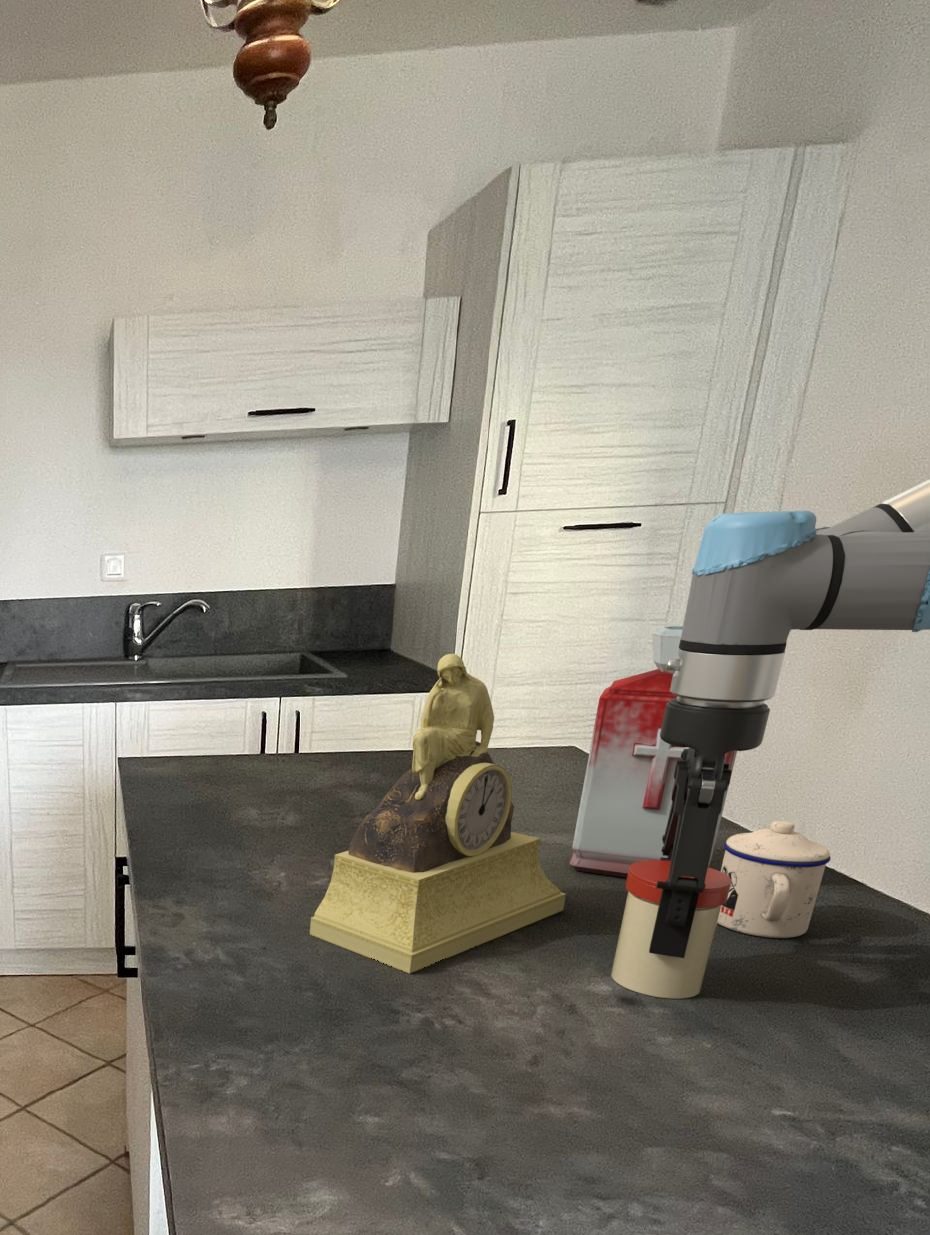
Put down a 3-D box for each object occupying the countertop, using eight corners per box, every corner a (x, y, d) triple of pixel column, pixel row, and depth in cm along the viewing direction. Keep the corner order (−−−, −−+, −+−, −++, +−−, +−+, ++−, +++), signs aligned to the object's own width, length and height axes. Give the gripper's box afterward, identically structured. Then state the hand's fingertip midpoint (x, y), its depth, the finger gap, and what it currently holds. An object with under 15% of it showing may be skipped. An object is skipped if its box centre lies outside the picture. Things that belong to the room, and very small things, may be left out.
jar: (700, 975, 96) (724, 874, 93) (700, 1005, 91) (726, 899, 87) (613, 960, 100) (633, 862, 97) (608, 988, 95) (629, 886, 91)
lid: (612, 876, 97) (616, 858, 96) (704, 879, 95) (708, 861, 94) (643, 906, 90) (647, 886, 89) (743, 910, 88) (748, 890, 87)
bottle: (566, 873, 124) (610, 631, 113) (576, 851, 132) (618, 622, 121) (704, 893, 116) (765, 634, 106) (705, 868, 124) (763, 624, 113)
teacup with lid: (702, 904, 113) (725, 807, 109) (801, 915, 109) (828, 815, 105) (714, 942, 103) (740, 837, 99) (822, 956, 99) (854, 848, 95)
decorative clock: (409, 973, 99) (446, 674, 89) (309, 934, 109) (331, 662, 99) (563, 910, 113) (611, 645, 102) (461, 880, 123) (495, 636, 113)
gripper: (663, 680, 96) (619, 896, 104) (671, 718, 79) (618, 971, 87) (758, 683, 92) (705, 907, 100) (787, 724, 76) (720, 988, 84)
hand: (664, 937), depth 94 cm, fingers closed on lid, 8 cm apart
